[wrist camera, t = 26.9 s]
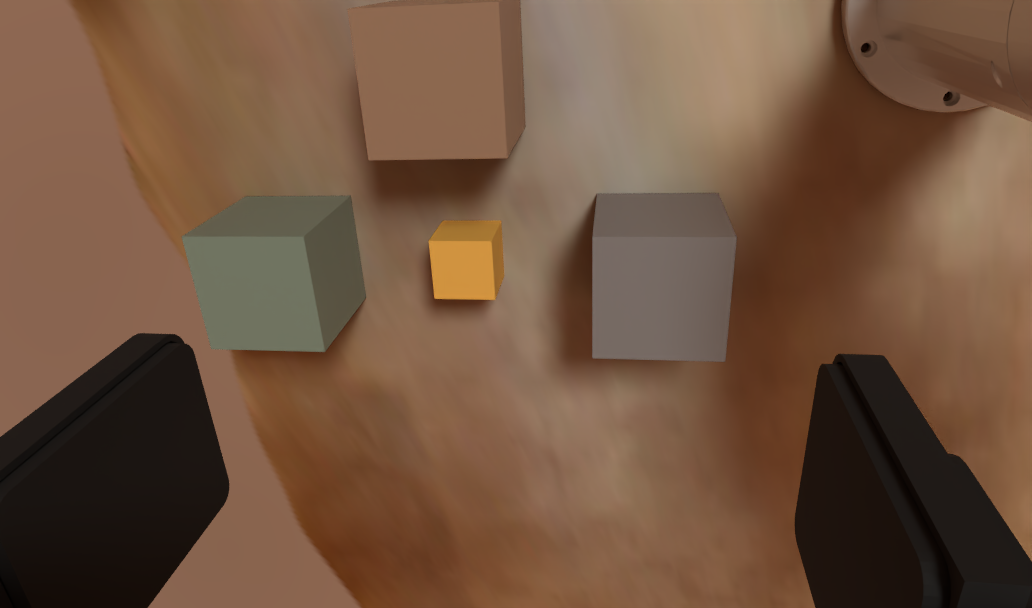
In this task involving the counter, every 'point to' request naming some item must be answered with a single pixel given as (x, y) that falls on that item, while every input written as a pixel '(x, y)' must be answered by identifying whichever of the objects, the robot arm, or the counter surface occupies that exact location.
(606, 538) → the counter surface
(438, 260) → the orange block
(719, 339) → the grey open box
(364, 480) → the counter surface
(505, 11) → the tan cardboard-coloured box
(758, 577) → the counter surface
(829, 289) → the counter surface
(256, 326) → the green open box
